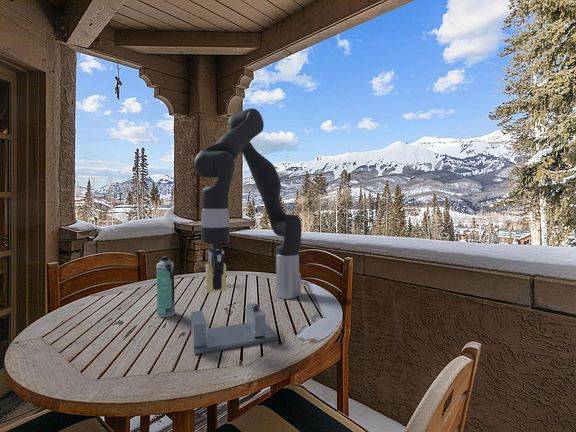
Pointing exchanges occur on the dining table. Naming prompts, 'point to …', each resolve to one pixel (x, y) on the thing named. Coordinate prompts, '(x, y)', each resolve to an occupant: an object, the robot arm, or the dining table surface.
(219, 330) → the vise
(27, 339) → the dining table surface
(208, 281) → the block
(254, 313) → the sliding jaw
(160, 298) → the spray can
